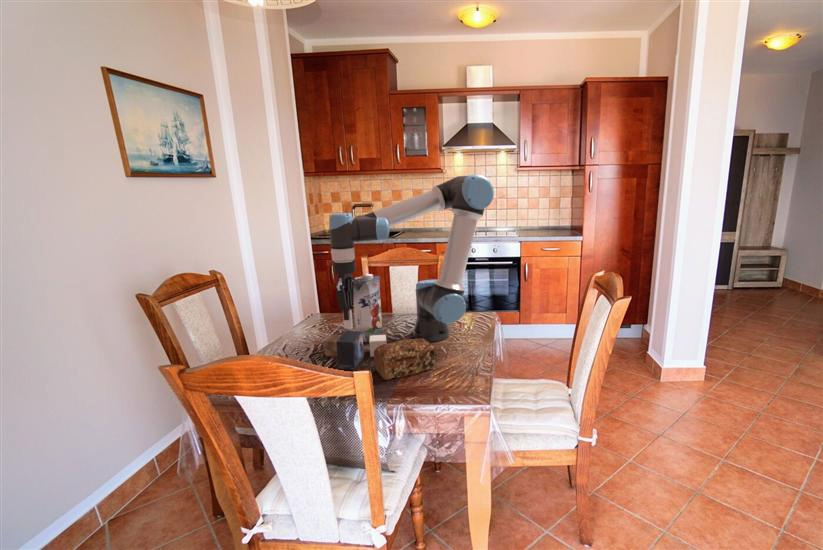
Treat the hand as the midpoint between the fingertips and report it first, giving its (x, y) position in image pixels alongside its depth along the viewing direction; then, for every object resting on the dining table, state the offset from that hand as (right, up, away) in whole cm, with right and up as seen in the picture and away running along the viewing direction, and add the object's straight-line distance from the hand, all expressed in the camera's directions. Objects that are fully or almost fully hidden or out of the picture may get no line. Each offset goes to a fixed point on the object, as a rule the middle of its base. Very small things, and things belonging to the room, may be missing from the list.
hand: (348, 327), depth 135 cm
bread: (+20, -14, -3) cm, 24 cm away
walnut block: (-6, -11, +12) cm, 18 cm away
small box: (+1, -13, +3) cm, 14 cm away
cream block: (+10, -11, +11) cm, 18 cm away
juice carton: (+4, -8, +26) cm, 28 cm away
